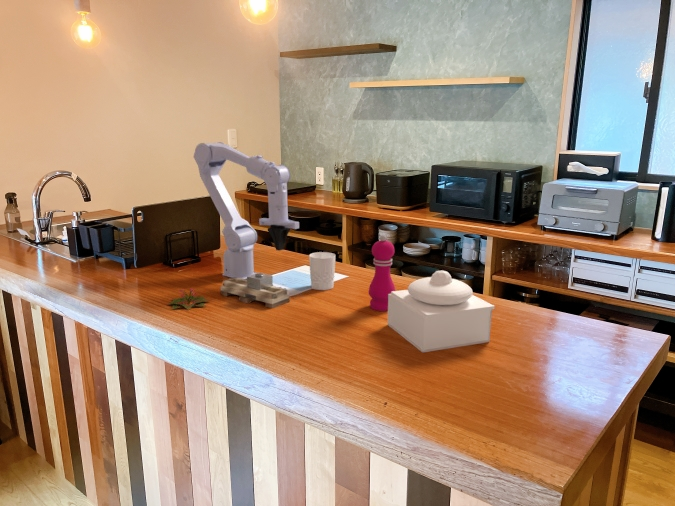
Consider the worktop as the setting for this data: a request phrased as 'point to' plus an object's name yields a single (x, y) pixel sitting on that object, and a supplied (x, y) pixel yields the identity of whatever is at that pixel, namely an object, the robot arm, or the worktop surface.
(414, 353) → the worktop surface
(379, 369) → the worktop surface
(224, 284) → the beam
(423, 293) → the butter dish
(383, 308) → the pepper mill
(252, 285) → the block
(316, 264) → the white cup
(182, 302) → the green leafy spiky piece
